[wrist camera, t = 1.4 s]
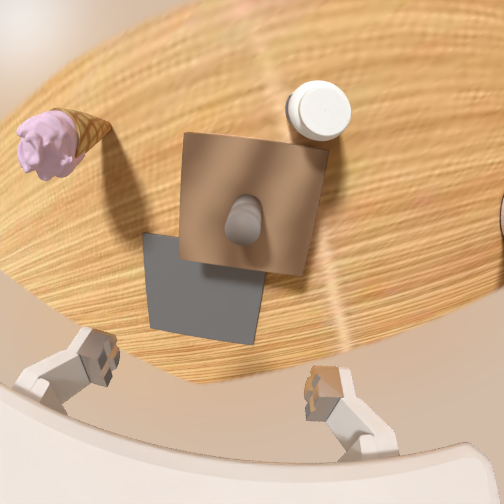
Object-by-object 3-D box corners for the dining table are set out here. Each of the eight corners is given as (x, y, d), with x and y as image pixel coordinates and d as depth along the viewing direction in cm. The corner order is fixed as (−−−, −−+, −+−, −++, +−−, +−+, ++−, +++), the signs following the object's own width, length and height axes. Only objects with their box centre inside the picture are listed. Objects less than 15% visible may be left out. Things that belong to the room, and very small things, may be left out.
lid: (327, 150, 26) (341, 161, 20) (301, 271, 32) (306, 305, 26) (187, 132, 26) (165, 139, 20) (181, 254, 32) (164, 285, 26)
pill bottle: (312, 144, 30) (329, 159, 22) (274, 112, 29) (275, 113, 20) (345, 109, 28) (374, 111, 20) (307, 76, 27) (321, 63, 18)
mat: (269, 249, 36) (269, 251, 36) (252, 343, 44) (252, 345, 44) (143, 232, 36) (142, 233, 36) (151, 326, 44) (150, 327, 44)
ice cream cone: (141, 127, 30) (60, 149, 17) (111, 165, 33) (31, 208, 19) (105, 93, 28) (16, 100, 15) (78, 132, 31) (-8, 160, 17)
